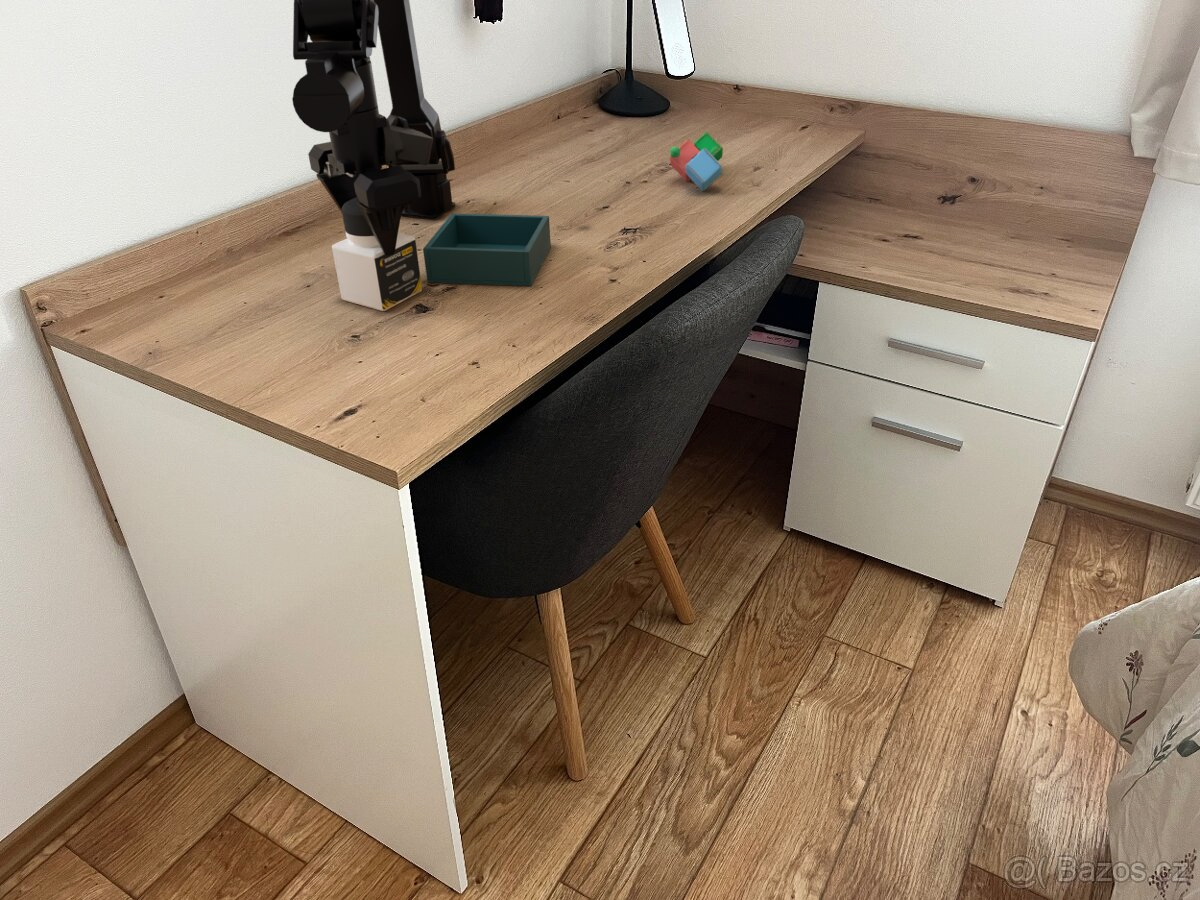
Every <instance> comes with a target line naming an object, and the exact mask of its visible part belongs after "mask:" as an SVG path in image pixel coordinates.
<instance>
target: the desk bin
mask: <svg viewBox="0 0 1200 900" xmlns="http://www.w3.org/2000/svg"><path fill="white" fill-rule="evenodd" d="M551 243H552V242H551V225H550V216H549V215H534V214H533V215H532V214H531V215H529V214H493V213H492V214H491V213H458V212H457V213H456V212H454V213H453V212H452V213H451V214H450V215H449V216H448V217H447V219H446V220H445V221H444V222H443V223H442V225H441V226H440V227H439V228H438V230H437V231H436V232H435V233H434V235H432V237H430V240H429V241H427V242H426V244H425V245H424V247H423V248H422V250H423V258H424V267H425V272H426V273H425V274H426V281H427V283H432V284H433V283H434V284H435V283H437V284H461V285H462V284H463V285H486V286H488V285H489V286H490V285H492V286H514V287H515V286H517V287H532V285H533V283H534V281H535V279H536V277H537V275H538V274H539V272H540V269H541V268H542V266H543V264H544V262H545V260H546V258H547V256H548V255H549V252H550V250H551V248H552V244H551Z"/></svg>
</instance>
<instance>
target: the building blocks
mask: <svg viewBox="0 0 1200 900" xmlns="http://www.w3.org/2000/svg"><path fill="white" fill-rule="evenodd" d="M723 151H724V148H723V146H722V145H721V144H720V143H719V142H718V141H717V140H716V139H715V137H713V136H712V134H710V132H708V131H705V132H703V133H702V134H701V135H700V136H699V137H698V138H697V139H695V141H693V142H692V141H691V140H690V139H686V140H685V141H684V142H683V143H682V144H681V145H680V146H679V147H678V146H672V147H671V148H670V150H669V162H670V163H669V164H670V166H671V167H672V169H674V170H675V172H677V173H678V175H679V176H680V177H681V178H682V179H683V180H684V181H685V182H689V181H690V180H691V181H692V183H694V184H695V186H696V187H698V188H699V189H700V191H703V192H704V191H706V190H707V189H708V188H709V187H710V186H712V184H713V183H715V182H716V180H718V179H719V178H720V177H721V176H722V174H723V173H722V172H723V165H722V164H721V163H720V160H721V159H722V158H723V153H724V152H723Z"/></svg>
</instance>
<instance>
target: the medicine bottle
mask: <svg viewBox="0 0 1200 900" xmlns="http://www.w3.org/2000/svg"><path fill="white" fill-rule="evenodd" d="M358 202H359V199H358V197H356V198H353V199H351V200H349V201H348V202H346V203H345V204H344V205H343V207H342V209H341V210H342V213H341V215H342V220H343V225H344V226H343V227H344V231H345V232H344V233H345V236H346V238H345V239H342V240H341V241H338V242H336V243H334V244H332V245H331V250H332V256H333V260H334V267H335V271H336V272H335V273H336V276H337V277H336V278H337V282H338V287H339V292H340V297H341V300H343V301H345V302H348V303H352V304H356V305H360V306H363V307H367V308H369V309H374V310H376V311H380V312H386V311H388V310H390V309H392V308H393V307H395V306H397V305H399V304H400V303H402V302H404V301H406V300H408V299H410V298H412V297H413V296H415V295H417V294H419V293H421V292H422V291H423V284H422V277H421V270H420V263H419V255H418V250H417V249H418V248H417V241H416V237H415V236H413V235H409V234H406V233H405V234H404V233H400V232H398V236H397V242H396V248H395V253H394V254H393V255H389V256H386V255H385V254H384V252H383V251H382V249H381V247H380V245H379V244H378V242H377V240H376V238H375V236H374V234H373V232H372V230H371V228H370V227H369V225H368V223H367V221H366V219H365V217H364V215H363V213H362V212H361V210H360V208H359V206H358V204H357V203H358Z"/></svg>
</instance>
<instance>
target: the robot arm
mask: <svg viewBox="0 0 1200 900" xmlns="http://www.w3.org/2000/svg"><path fill="white" fill-rule="evenodd" d="M292 26H293V28H292V33H293V34H292V57H293V60H295V61H297V60H298V61H300V60H303V61H304V60H305V61H304V64H305V70H306V73H305V75H303V76H302V77H300V78H299V79H298V81H297V82H296V83H295V86H294V88H293V91H292V98H291V99H292V105H293V108H294V111H295V113H296V115H297V117H298V118H299V120H300V121H301V122H302V123H303V124H304V125H306V126H307V127H308V128H310V129H312V130H314V131H316V132H320V133H328V134H329V135H328V136H329V139H330V141H328V142H321V143H317V144H313V146H312V147H311V149H310V150H309V152H308V154H307V155H308V159H309V160H308V161H309V166H310V169H311V170H312V171H313V172H314V173H316V178H317V180H319V181H320V183H321V184H322V186H323V187H324V189H325V190H326V192H327V193H328V195H329V196H330V198H331V199H332V200H333V202H334V203H335V205H336V207H337V208H338V210H339V212H341V214H342V210H341V209H342V207H343V205H344V204H345V203H346V202H348V201H349V200H351V199H353V198H356V197H358V199H359V202H358V203H357V204H358V206H359V208H360V210H361V212H362V213H363V215H364V217H365V219H366V221H367V223H368V225H369V227H370V228H371V230H372V232H373V234H374V236H375V238H376V240H377V242H378V244H379V245H380V247H381V249H382V251H383V252H384V254H385V255H386V256H389V255H393V254H394V253H395V248H396V242H397V236H398V233H399V228H400V225H401V224H400V223H401V219H402V216H403V217H404V216H405V217H411V218H420V219H428V220H429V219H430V220H436V219H439V218H440V217H442V216H443V215H445V214H446V213H447V212H450V211H451V210H452V209H454V208H455V207H456V202H454V201H453V196H452V188H451V187H452V186H451V181H450V179H448V176H447V175H448V174H449V172H452V171H455V170H456V163H455V157H454V152H453V150H452V146H451V142H450V140H449V139H448V137H447V134H446V131H445V130H442V128H441V120H440V116H439V114H438V112H437V110H436V109H434V107H433V106H432V105H431V104H430V102H428V100H427V99H426V97H425V94H424V87H423V81H422V76H421V75H422V74H421V69H420V61H419V55H418V49H417V41H416V36H415V35H416V34H415V28H414V22H413V16H412V9H411V4H410V0H293V25H292ZM378 34H379V39H380V44H381V50H382V56H383V60H384V66H385V71H386V72H385V73H386V78H387V83H388V84H387V85H388V90H389V94H390V101H391V110H390V113H389V115H388V116H385V115H383V114H381V113H380V110H379V105H378V99H377V90H376V85H375V77H374V71H373V66H372V60H371V56H372V54H373V48H374V49H376V48H377V44H378V43H377V42H378ZM308 40H310V41H308ZM383 166H387V167H385V168H383Z"/></svg>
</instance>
